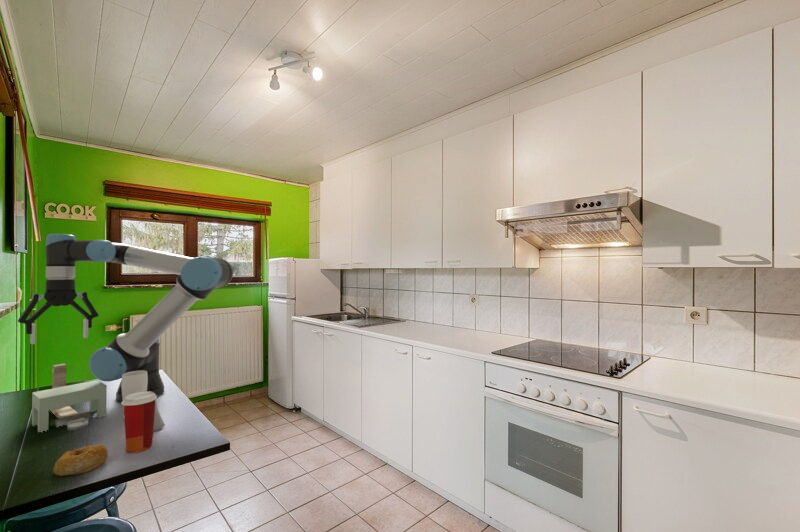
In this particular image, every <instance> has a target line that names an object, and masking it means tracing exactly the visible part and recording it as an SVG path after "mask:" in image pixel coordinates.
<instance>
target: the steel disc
mask: <svg viewBox="0 0 800 532" xmlns="http://www.w3.org/2000/svg"><path fill="white" fill-rule="evenodd" d="M89 420H90V419H88V418H80V419H75V420H72V421H69V422H68V423H67V425H66V431H69V432H73V431H79V430H82V429H85V428H87V427H88V426H89V422H90V421H89Z"/></svg>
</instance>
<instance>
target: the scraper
mask: <svg viewBox="0 0 800 532" xmlns="http://www.w3.org/2000/svg"><path fill="white" fill-rule="evenodd" d="M51 373H52V377H51V378H52V380H51V381H52V383H51V384H52V385H51V386H52V387H51V389H53V388H58V387H64V386H67V364H65V363H60V364H54V365H52V371H51ZM50 411H51V412H52V413H53V414H54V415H55V416H54V415H53V414H52V413H51V412H50ZM49 412H50V413H51V414H52V415H53V416H54V417H56V419H54V420H55V423H54V426H55V427H56V428H60V427H59V426H61V427H64V426H63V425H65V426H67V423H68V422H69V421H72V420H75V419H80V418H88V419H89V420H91V412H90V411H89V410H88V411H84V412H80V413H79V412H77V410H75V409H73V407H71V405H70V406H66V407H61V408H57V409H52V410H49ZM58 418H59V419H58Z"/></svg>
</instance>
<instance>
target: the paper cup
mask: <svg viewBox="0 0 800 532" xmlns="http://www.w3.org/2000/svg"><path fill="white" fill-rule="evenodd" d="M157 398H158V396H155V393H153V392H150V391H147V392H138V393H134V394H130V395H128V396H126V397H125V398H124V400H123V402H120V403H121V405H122V406H124V409H123V423H124V436H125V448H126V449H125V450H126V452H127V453H130V454H135V453H139V452H143V451H146V450H148V449H150V448H151V447H152V445H153V438H154V432H153V428H154V415H155V399H156V400H157Z"/></svg>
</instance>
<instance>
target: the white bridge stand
mask: <svg viewBox="0 0 800 532" xmlns="http://www.w3.org/2000/svg"><path fill="white" fill-rule="evenodd" d="M107 388H108V387H107V384H106V383H103V381H102V382H101V380H99V379H96V380H90V381H84V382H80V383H75V384H68V385H66V386H64V387H58V388H53V389H52V388H50V389H48V388H47V389H43V390H37V391H33V392H32V394H31V396H32V397H31V402H32V403H31V409H32V410H31V413H32V414H31V425H32V427H35V426H34V425H37V433H39V432H41V433H44V432H43V431H45V432H48V431H49V420H50V419H49V416H50V415H49V412H50V410H52V409H57V408H61V407H66V406H70V407H71V406H73V405H74V406H75V405H78V404H79V405H80V404H82V403H87V402H89V405H88V406H89V408H88V411H89V412H90V413H93V412H96V417H98V418H102V417H106V416H107ZM47 430H48V431H47Z"/></svg>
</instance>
